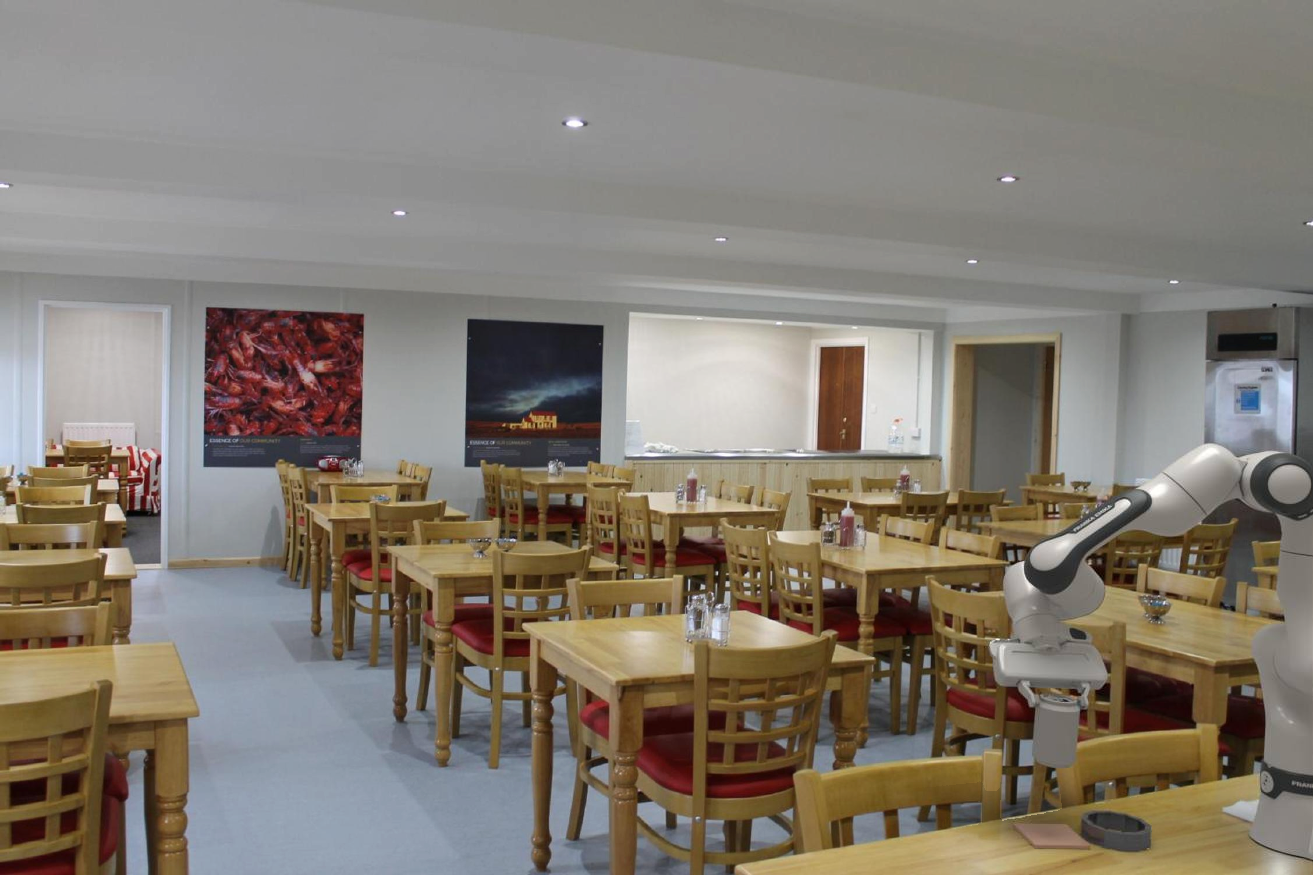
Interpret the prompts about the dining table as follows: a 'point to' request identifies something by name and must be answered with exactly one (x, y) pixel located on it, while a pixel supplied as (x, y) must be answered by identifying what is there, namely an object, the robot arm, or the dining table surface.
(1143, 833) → the ring
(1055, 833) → the tile
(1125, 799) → the dining table surface
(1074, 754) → the can
